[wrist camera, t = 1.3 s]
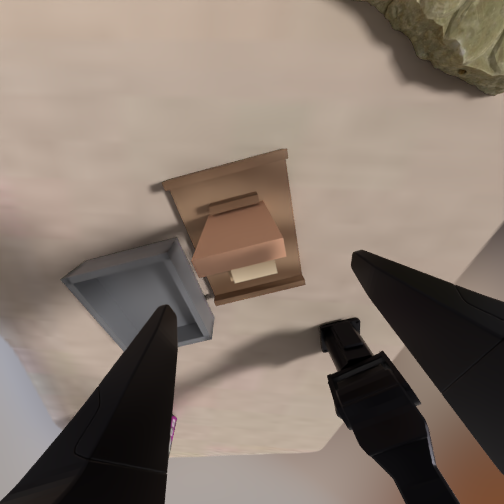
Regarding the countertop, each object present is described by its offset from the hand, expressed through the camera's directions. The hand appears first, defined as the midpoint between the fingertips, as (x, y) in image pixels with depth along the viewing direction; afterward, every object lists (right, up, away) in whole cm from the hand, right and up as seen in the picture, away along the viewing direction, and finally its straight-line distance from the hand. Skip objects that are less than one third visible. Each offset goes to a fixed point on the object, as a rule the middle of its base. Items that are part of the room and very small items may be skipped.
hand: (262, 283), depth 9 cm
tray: (-13, -4, +17) cm, 22 cm away
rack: (-1, +4, +14) cm, 15 cm away
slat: (-2, +6, +12) cm, 14 cm away
